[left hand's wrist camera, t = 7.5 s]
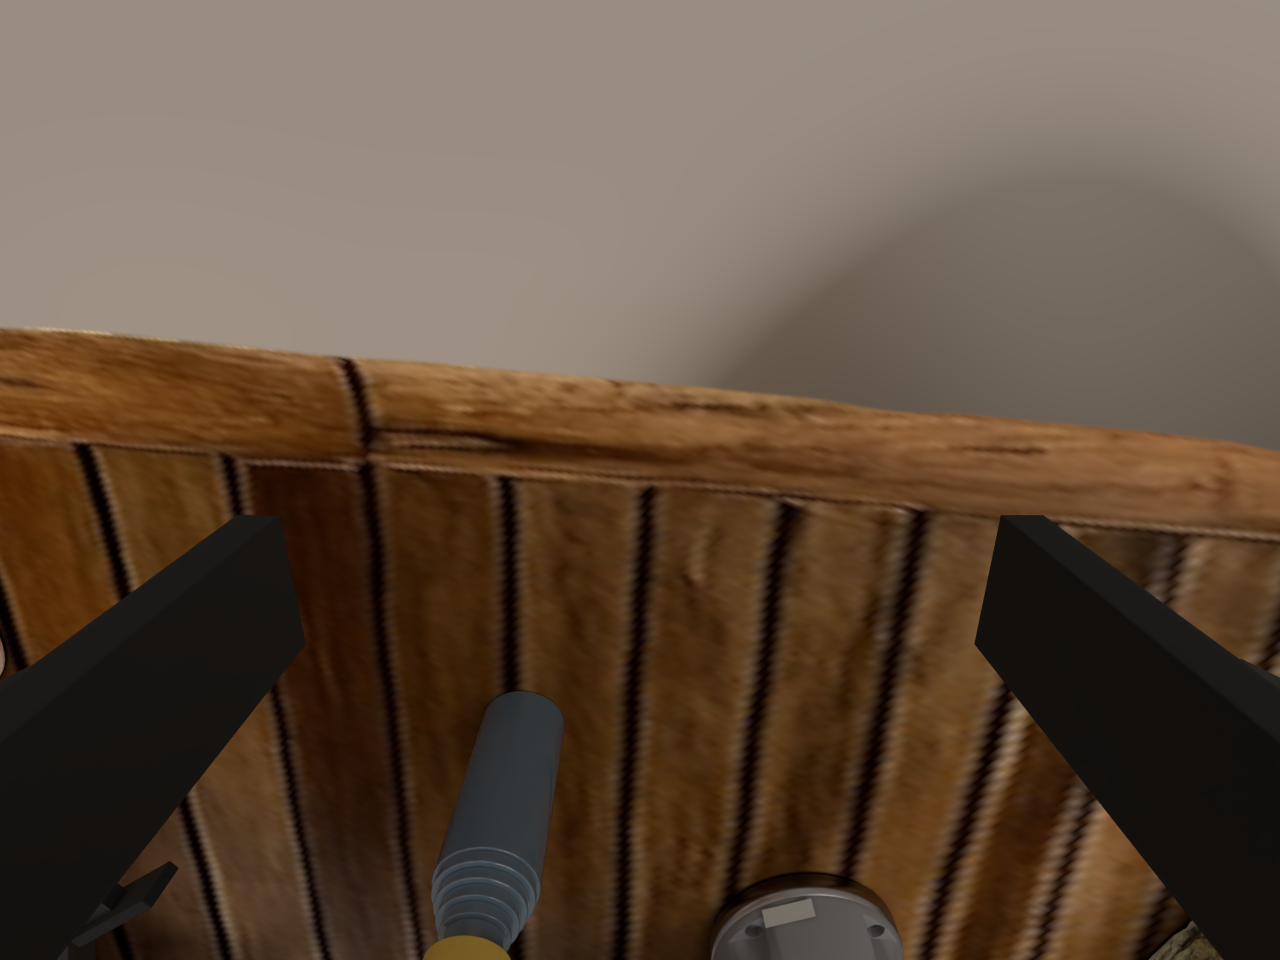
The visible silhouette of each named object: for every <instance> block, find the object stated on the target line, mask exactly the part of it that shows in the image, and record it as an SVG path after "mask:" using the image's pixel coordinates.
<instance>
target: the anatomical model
mask: <svg viewBox="0 0 1280 960" xmlns="http://www.w3.org/2000/svg"><path fill="white" fill-rule="evenodd" d="M4 664H5V652H4V648H3V644H2V641H1V638H0V675H1V673H2V671H3V669H4Z"/></svg>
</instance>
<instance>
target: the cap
mask: <svg viewBox="0 0 1280 960" xmlns="http://www.w3.org/2000/svg"><path fill="white" fill-rule="evenodd" d="M423 960H511V959H510V957H509V955H508V954H507V953H506V951H505V950H503V949H502V948H501V947H500V946H499V945H497V944H495V943H494V942H492V941H489V940H487V939H484V938H481V937H476V936H468V935H459V936H452V937H448V938H445V939H442V940H440V941H438V942H436V943H435V944H433V945H432V946H431V947H430V948H429V949H428V950H427V952H426V953H425V955H424V958H423Z"/></svg>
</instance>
